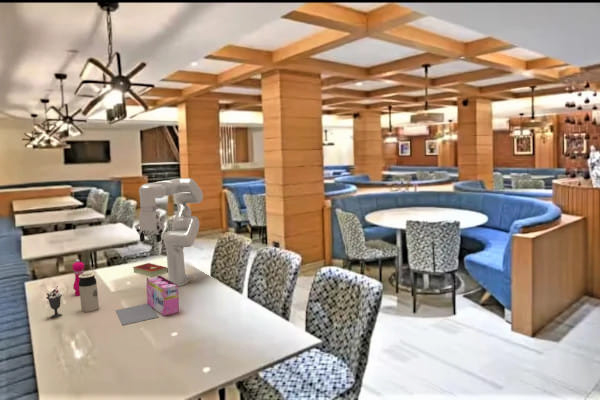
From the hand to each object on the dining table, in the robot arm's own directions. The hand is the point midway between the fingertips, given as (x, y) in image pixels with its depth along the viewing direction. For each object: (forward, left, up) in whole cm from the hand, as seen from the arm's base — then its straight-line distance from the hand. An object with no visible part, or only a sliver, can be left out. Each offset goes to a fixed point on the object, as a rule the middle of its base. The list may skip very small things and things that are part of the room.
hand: (150, 241), depth 231 cm
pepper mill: (+33, -33, -31) cm, 56 cm away
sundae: (+46, -3, -31) cm, 56 cm away
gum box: (0, +18, -31) cm, 36 cm away
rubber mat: (+13, +18, -31) cm, 38 cm away
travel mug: (+31, -3, -31) cm, 44 cm away
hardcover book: (-9, -53, -32) cm, 62 cm away
